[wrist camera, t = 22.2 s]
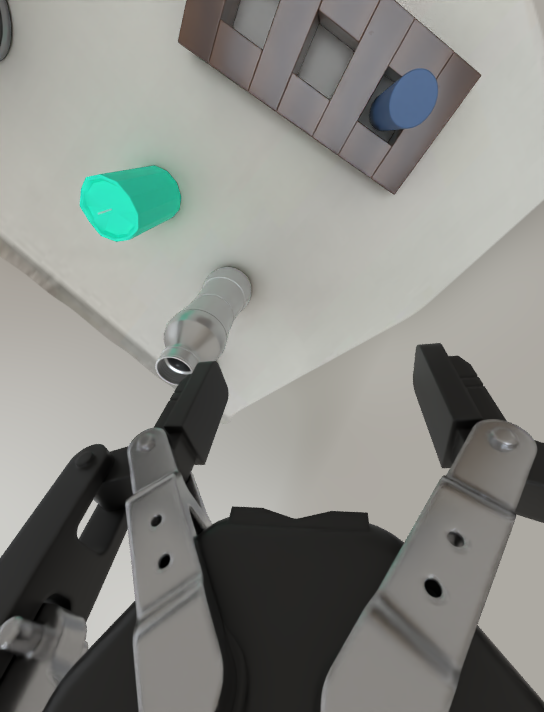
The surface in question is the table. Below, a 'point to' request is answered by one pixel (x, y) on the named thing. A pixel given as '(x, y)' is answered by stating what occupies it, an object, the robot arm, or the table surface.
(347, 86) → the rack
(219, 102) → the table surface
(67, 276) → the table surface
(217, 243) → the table surface
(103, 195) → the candle
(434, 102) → the peg
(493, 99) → the table surface
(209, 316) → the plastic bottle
